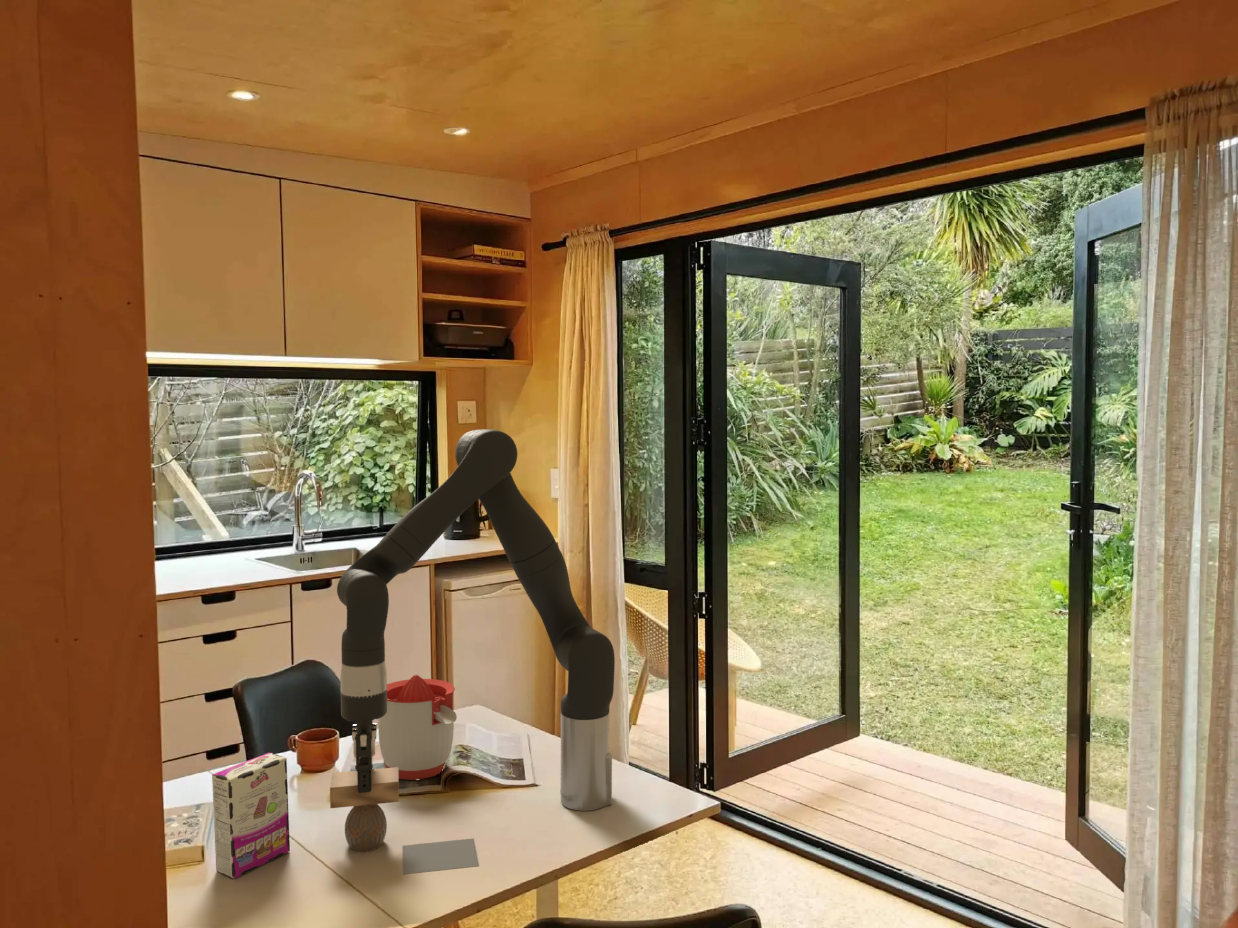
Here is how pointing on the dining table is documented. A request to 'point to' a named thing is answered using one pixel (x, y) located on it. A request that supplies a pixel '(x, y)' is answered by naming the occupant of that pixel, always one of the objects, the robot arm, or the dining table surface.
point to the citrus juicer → (417, 727)
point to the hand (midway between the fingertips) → (365, 781)
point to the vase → (365, 827)
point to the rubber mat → (439, 856)
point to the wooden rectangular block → (381, 792)
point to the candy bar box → (250, 814)
